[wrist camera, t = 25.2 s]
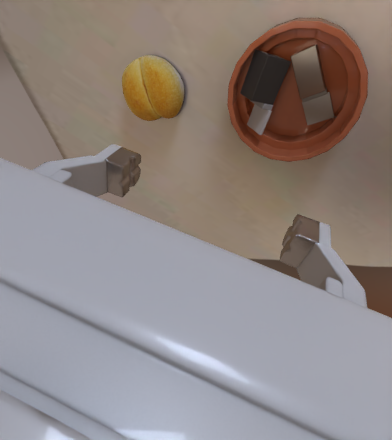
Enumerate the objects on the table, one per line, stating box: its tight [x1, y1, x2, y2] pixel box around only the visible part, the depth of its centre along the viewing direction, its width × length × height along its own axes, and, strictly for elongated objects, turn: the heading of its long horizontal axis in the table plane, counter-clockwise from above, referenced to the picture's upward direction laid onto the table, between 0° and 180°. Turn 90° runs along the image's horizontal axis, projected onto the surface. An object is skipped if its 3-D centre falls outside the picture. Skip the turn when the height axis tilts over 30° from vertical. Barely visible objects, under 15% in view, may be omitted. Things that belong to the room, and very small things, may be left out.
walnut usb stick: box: [290, 45, 334, 125], centre depth 31 cm, size 8×3×3 cm, turn 26°
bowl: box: [228, 18, 368, 161], centre depth 32 cm, size 14×14×5 cm
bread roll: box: [122, 55, 184, 121], centre depth 38 cm, size 8×9×4 cm
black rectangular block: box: [240, 49, 291, 135], centre depth 31 cm, size 8×3×3 cm
